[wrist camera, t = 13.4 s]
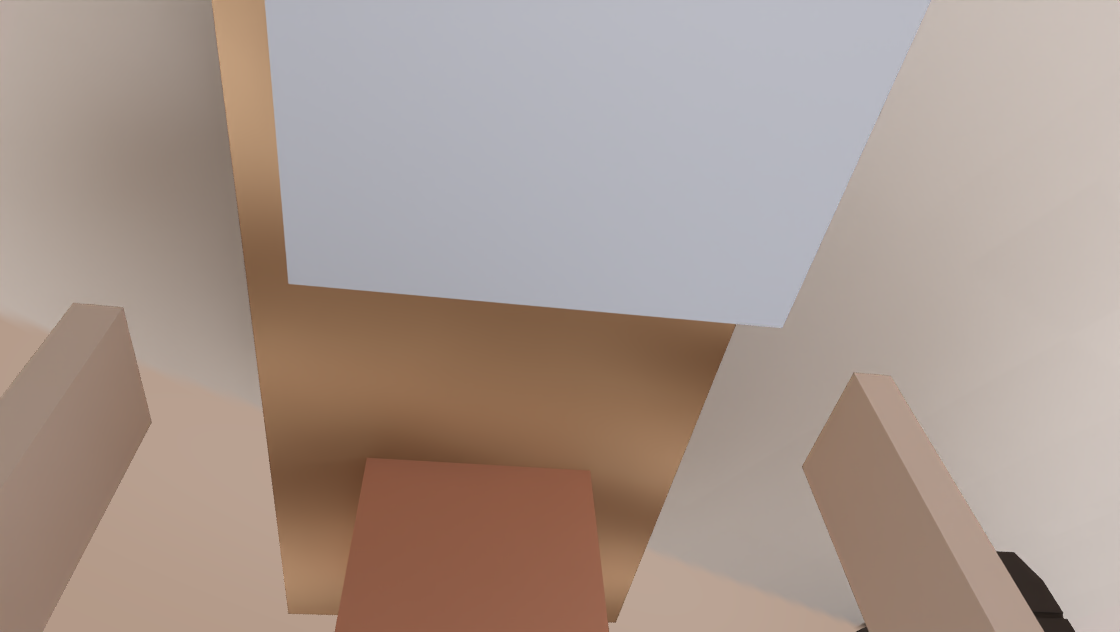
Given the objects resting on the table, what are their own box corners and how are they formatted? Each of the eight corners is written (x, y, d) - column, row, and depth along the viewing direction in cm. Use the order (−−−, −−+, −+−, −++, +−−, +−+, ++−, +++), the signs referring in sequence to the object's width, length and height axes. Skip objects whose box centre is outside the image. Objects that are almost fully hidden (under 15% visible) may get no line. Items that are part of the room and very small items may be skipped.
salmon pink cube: (555, 589, 22) (568, 799, 18) (366, 583, 21) (332, 802, 17) (590, 470, 19) (616, 695, 14) (367, 457, 18) (323, 691, 13)
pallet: (594, 452, 29) (615, 622, 23) (330, 435, 27) (288, 613, 22) (833, -377, 14) (1043, -437, 9) (288, -510, 13) (126, -683, 7)
